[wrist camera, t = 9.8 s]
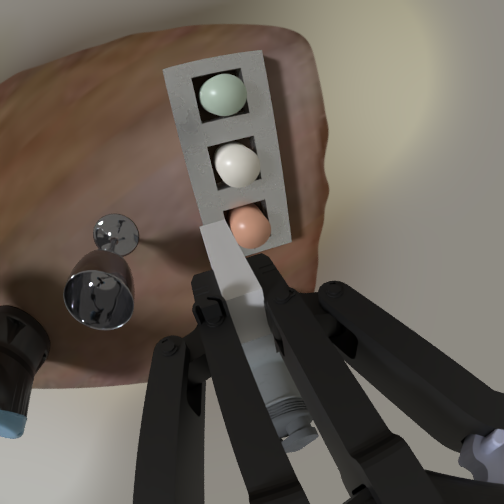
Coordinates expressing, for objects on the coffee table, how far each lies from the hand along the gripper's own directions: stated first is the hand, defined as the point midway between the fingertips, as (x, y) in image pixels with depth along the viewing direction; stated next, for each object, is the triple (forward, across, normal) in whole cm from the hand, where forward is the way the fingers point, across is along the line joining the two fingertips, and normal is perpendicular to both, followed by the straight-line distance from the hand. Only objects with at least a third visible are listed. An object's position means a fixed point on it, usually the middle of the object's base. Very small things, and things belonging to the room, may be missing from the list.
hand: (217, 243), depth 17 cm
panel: (+23, +6, -1) cm, 24 cm away
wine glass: (+24, -13, -7) cm, 28 cm away
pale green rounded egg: (+23, +6, +8) cm, 25 cm away
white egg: (+23, +6, -1) cm, 24 cm away
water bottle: (+24, +2, -27) cm, 36 cm away
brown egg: (+23, +6, -10) cm, 26 cm away
